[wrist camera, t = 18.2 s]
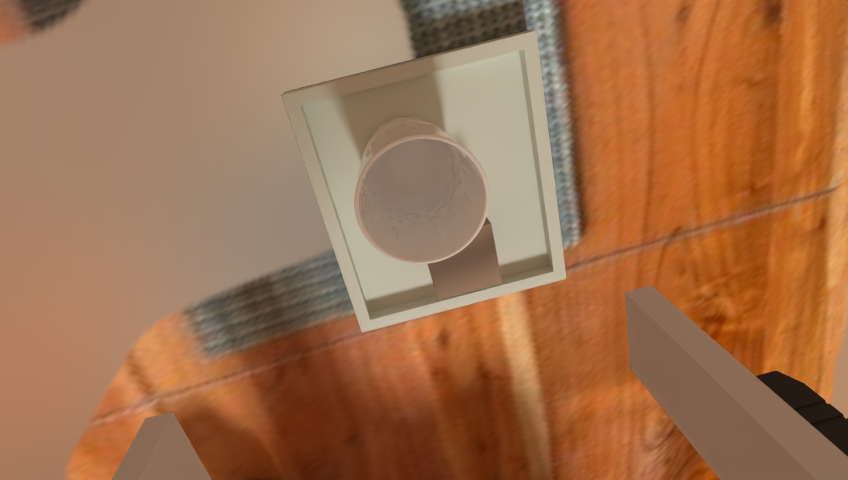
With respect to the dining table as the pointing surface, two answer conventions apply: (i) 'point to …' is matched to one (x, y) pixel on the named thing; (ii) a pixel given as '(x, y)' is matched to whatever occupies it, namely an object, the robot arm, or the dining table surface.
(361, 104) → the tray
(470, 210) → the white cup
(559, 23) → the dining table surface
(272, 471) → the dining table surface
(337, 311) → the dining table surface
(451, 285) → the walnut block
